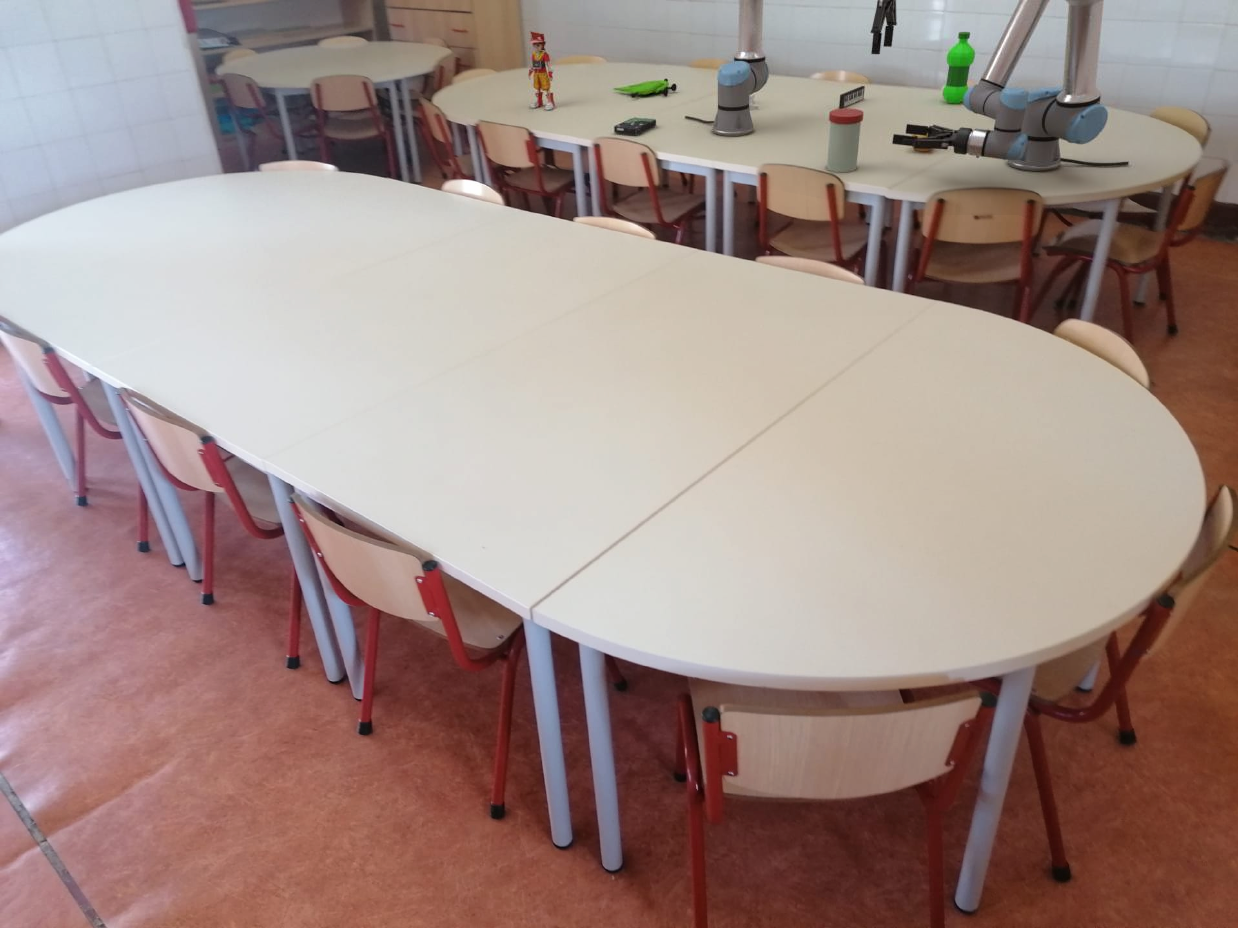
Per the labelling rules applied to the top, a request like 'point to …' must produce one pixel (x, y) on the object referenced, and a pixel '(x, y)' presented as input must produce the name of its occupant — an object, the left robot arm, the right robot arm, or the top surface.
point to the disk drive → (635, 126)
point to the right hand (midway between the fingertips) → (899, 133)
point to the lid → (846, 116)
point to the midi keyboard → (851, 96)
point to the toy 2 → (648, 88)
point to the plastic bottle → (958, 69)
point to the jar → (843, 147)
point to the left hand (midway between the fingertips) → (881, 50)
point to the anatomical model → (752, 105)
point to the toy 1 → (541, 71)
